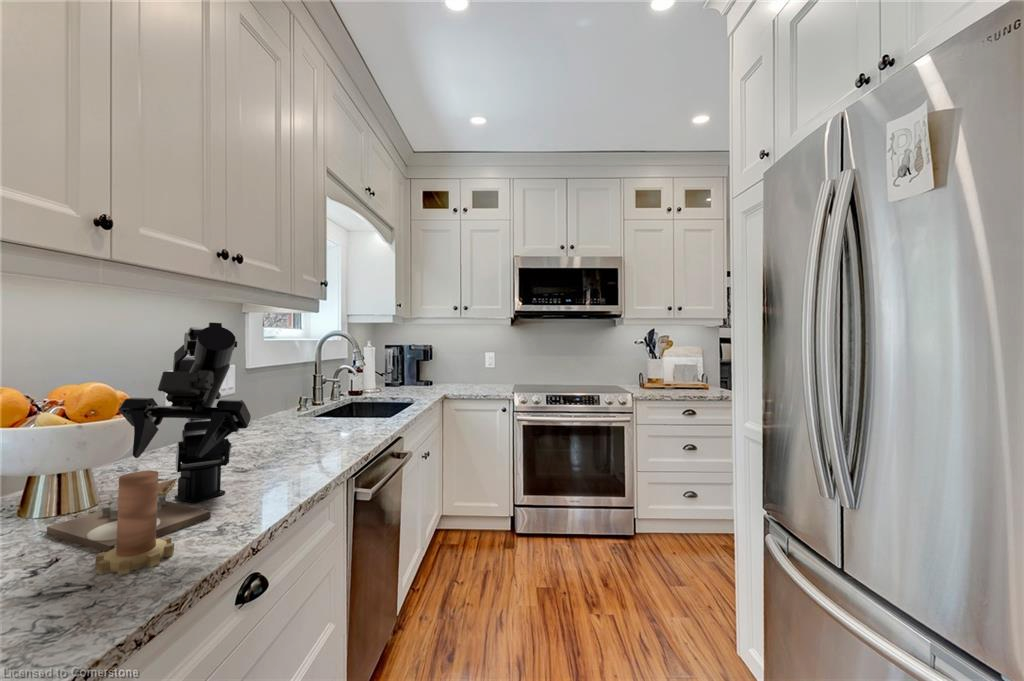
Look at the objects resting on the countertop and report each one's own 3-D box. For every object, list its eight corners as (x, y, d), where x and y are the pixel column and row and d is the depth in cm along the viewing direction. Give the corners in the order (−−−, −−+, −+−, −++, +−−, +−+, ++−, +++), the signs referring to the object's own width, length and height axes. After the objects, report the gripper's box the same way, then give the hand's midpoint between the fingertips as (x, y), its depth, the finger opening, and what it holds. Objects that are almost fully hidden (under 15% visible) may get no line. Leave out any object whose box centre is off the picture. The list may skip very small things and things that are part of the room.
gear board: (150, 503, 85) (150, 485, 85) (210, 517, 79) (210, 498, 79) (46, 533, 71) (47, 512, 71) (110, 554, 65) (110, 530, 65)
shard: (176, 484, 98) (177, 476, 98) (198, 489, 95) (198, 481, 95) (118, 499, 88) (119, 491, 88) (141, 506, 85) (141, 496, 85)
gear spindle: (151, 541, 69) (153, 464, 69) (187, 552, 66) (190, 470, 66) (80, 567, 61) (83, 479, 61) (118, 581, 58) (121, 487, 58)
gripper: (127, 351, 74) (73, 430, 63) (246, 356, 77) (213, 431, 67) (155, 389, 81) (110, 465, 71) (261, 392, 85) (234, 465, 74)
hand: (167, 456), depth 70 cm, fingers open, 9 cm apart
